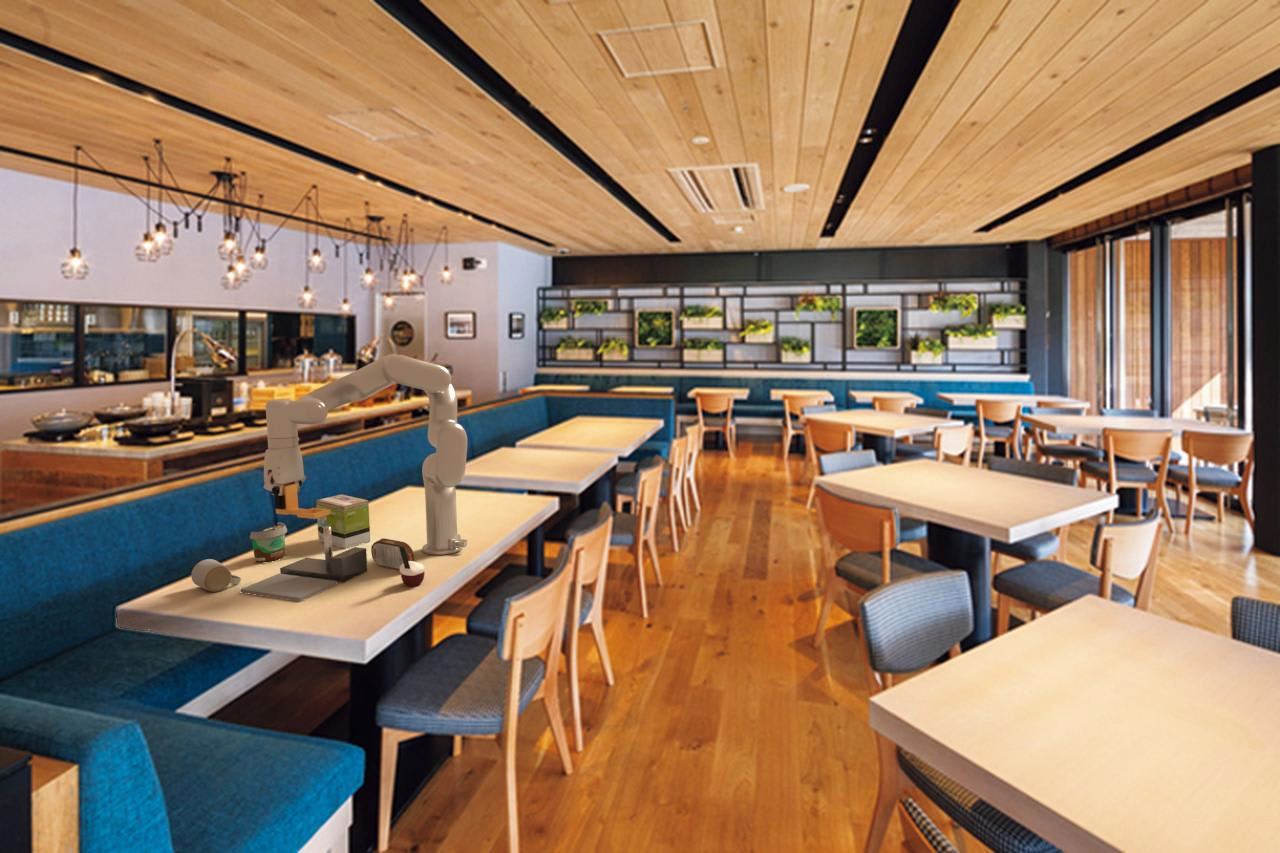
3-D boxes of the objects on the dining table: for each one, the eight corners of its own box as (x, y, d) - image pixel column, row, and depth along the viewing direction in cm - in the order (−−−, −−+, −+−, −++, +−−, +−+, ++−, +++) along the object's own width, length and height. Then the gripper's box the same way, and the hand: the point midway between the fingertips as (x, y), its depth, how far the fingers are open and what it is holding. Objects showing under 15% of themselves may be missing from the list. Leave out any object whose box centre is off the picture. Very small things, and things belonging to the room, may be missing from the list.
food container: (269, 565, 204) (267, 533, 203) (251, 564, 206) (249, 532, 204) (297, 553, 216) (295, 522, 215) (280, 552, 218) (278, 521, 216)
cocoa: (418, 579, 195) (417, 537, 194) (432, 582, 191) (431, 540, 190) (389, 587, 187) (388, 544, 186) (404, 591, 183) (403, 547, 182)
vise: (367, 571, 200) (365, 525, 198) (343, 583, 190) (340, 534, 188) (306, 563, 206) (304, 519, 204) (280, 574, 197) (277, 527, 195)
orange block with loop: (330, 513, 192) (329, 486, 191) (314, 518, 186) (313, 490, 185) (290, 509, 197) (288, 482, 196) (273, 514, 191) (271, 486, 190)
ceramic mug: (205, 596, 180) (204, 568, 179) (191, 589, 185) (189, 562, 184) (247, 585, 189) (245, 558, 188) (232, 579, 193) (231, 553, 193)
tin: (415, 570, 201) (414, 542, 200) (408, 573, 198) (406, 545, 197) (378, 562, 208) (376, 536, 206) (370, 566, 205) (368, 538, 204)
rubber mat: (336, 584, 189) (336, 580, 189) (300, 601, 177) (300, 597, 177) (279, 576, 195) (278, 573, 195) (240, 592, 183) (240, 589, 183)
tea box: (317, 542, 228) (314, 499, 226) (344, 535, 237) (341, 493, 235) (345, 549, 220) (342, 505, 218) (371, 541, 229) (369, 499, 227)
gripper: (296, 438, 200) (299, 499, 202) (247, 446, 184) (251, 512, 186) (316, 439, 197) (319, 501, 200) (269, 448, 182) (273, 515, 184)
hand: (286, 506), depth 193 cm, fingers closed on orange block with loop, 4 cm apart
